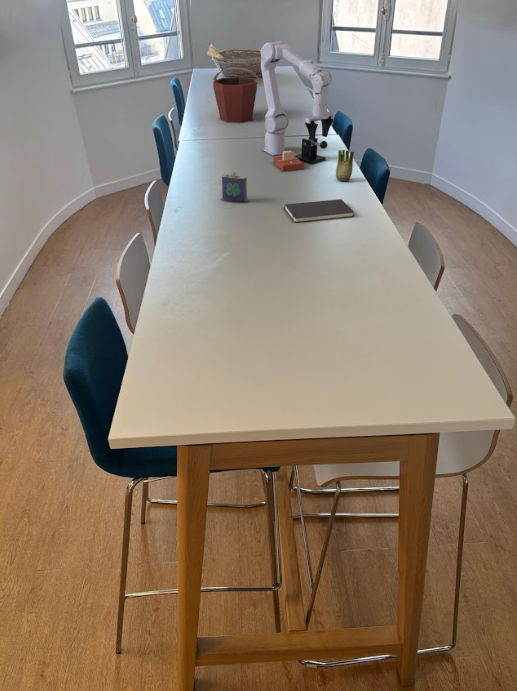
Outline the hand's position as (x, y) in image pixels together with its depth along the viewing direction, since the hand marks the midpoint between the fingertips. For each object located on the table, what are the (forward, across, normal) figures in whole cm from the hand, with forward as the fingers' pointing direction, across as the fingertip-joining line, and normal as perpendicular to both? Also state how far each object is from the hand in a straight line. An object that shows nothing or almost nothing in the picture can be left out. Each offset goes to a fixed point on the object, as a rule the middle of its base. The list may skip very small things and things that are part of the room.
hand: (318, 138), depth 240 cm
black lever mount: (+10, 0, +5) cm, 11 cm away
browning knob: (+7, -13, +5) cm, 16 cm away
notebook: (+10, -41, -38) cm, 57 cm away
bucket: (+10, +22, +79) cm, 83 cm away
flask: (+10, -55, -10) cm, 57 cm away
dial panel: (+10, -13, +5) cm, 17 cm away
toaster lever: (+4, 0, +1) cm, 4 cm away
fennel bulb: (+10, -10, -23) cm, 27 cm away
